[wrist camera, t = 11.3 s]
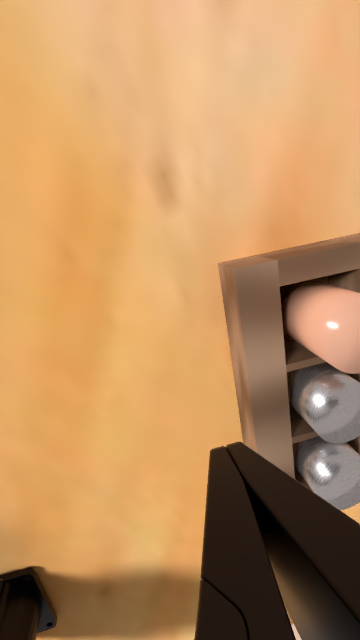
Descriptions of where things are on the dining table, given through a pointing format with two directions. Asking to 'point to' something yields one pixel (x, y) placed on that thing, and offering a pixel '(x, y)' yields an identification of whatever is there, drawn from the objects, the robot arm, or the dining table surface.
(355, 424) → the plug metal mid
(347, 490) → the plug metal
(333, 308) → the peach egg-shaped piece
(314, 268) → the brown wooden tray
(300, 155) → the dining table surface
